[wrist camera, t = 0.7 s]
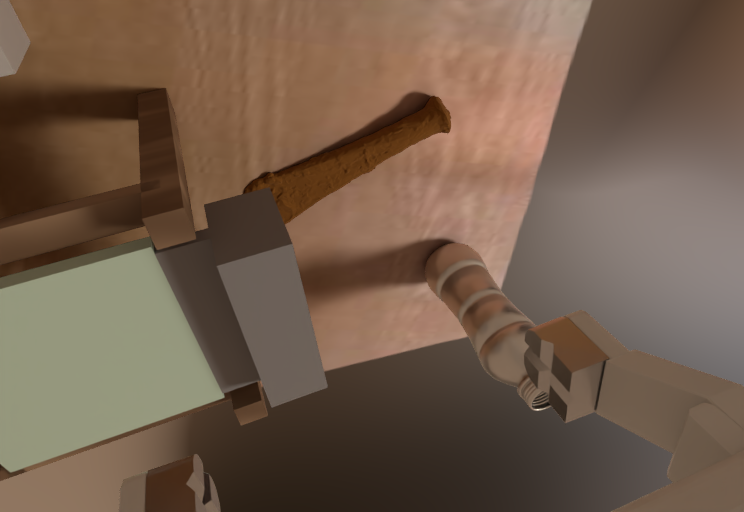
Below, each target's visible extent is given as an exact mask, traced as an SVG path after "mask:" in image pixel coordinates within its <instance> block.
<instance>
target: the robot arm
mask: <svg viewBox="0 0 744 512" xmlns="http://www.w3.org/2000/svg"><path fill="white" fill-rule="evenodd" d="M525 342H526V343H527V345H528V346H529V347H528V349H527V350H526V351H525V353H524V365H525V368H526V371H527V374H528V376H529V378H530V379H531V381H532V382H533V384H534V385H535V386H536V388H537V389H539V390H541V391H544V392H546V393H548V394H549V401H548V403H549V404H550V405H551V406H552V407H553V409H554V410H555V411H556V412H557V413H558V414H559V416H560V417H561V418H562V420H563V421H564V422H565V423H567V422H570V421H572V420H575V419H577V418H580V417H583V416H585V415H588V414H590V413H593V412H596V413H597V414H598V415H600V416H602V417H604V418H606V419H608V420H610V421H612V422H614V423H616V424H618V425H619V426H621V427H623V428H625V429H627V430H629V431H631V432H633V433H635V434H637V435H639V436H640V437H642V438H644V439H646V440H648V441H650V442H652V443H654V444H656V445H658V446H659V447H661V448H663V449H665V450H667V451H669V452H671V453H673V456H672V459H671V462H670V465H669V467H668V472H667V477H668V478H669V479H670V480H671V481H672V482H673V483H671V484H669V485H667V486H665V487H663V488H661V489H659V490H656V491H654V492H652V493H650V494H648V495H646V496H643V497H641V498H639V499H637V500H635V501H633V502H631V503H628V504H626V505H625V506H622V507H620V508H618V509H616V510H614V511H611V512H744V387H743V386H742V385H740V384H737V383H734V382H731V381H728V380H725V379H722V378H719V377H716V376H713V375H710V374H707V373H704V372H701V371H698V370H695V369H692V368H689V367H686V366H683V365H680V364H677V363H674V362H671V361H668V360H665V359H662V358H659V357H656V356H653V355H650V354H647V353H644V352H641V351H638V350H632V351H629V350H627V348H626V347H624V346H623V345H622V344H621V343H620V342H619V341H618V340H617V339H615V338H614V337H613V336H612V335H611V334H610V333H609V332H608V331H607V330H606V329H604V328H603V327H602V326H601V325H600V324H599V323H598V322H597V321H595V320H594V319H593V318H592V317H591V316H590V315H589V314H588V313H587V312H585V311H583V310H579V311H576V312H574V313H571V314H568V315H566V316H564V317H559V318H556V319H554V320H551V321H549V322H546V323H544V324H541V325H538V326H536V327H533V328H531V329H528V330H527V332H526V333H525ZM119 512H220V504H219V500H218V495H217V491H216V488H215V485H214V482H213V480H212V478H211V476H210V475H209V474H207V473H204V472H203V464H202V461H201V460H200V458H199V457H198V455H197V454H195V455H192V456H189V457H186V458H184V459H181V460H178V461H175V462H172V463H169V464H166V465H163V466H160V467H157V468H154V469H151V470H149V471H146V472H143V473H141V474H138V475H135V476H132V477H129V478H127V479H124V480H123V483H122V486H121V488H120V501H119Z"/></svg>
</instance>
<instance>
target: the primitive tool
mask: <svg viewBox="0 0 744 512" xmlns="http://www.w3.org/2000/svg"><path fill="white" fill-rule="evenodd" d="M450 119H451V116H450V112H449V111H448V110H447V109H446V107H445V106H444V105H443V103H442V101H441V99H440V98H439V97H435V96H432V97H431V98H430V99H429V101H428V102H427V104H426V105H425V107H424V108H423V109H422V110H419V111H418V112H416V113H414V114H412V115H410V116H407V117H404V118H403V119H401V120H400V121H398V122H396V123H394V124H392V125H390V126H386V127H384V128H382V129H381V130H379V131H377V132H375V133H373V134H371V135H369V136H366V137H363V138H360V139H358V140H356V141H354V142H352V143H349V144H347V145H345V146H343V147H340V148H338V149H336V150H333V151H331V152H328V153H323V154H321V155H319V156H317V157H312V158H310V160H309V161H306V162H303V163H302V164H299V165H296V166H293V167H291V168H289V169H286V170H283V171H280V172H278V173H274V174H273V173H268V174H267V175H266V176H265V177H263V178H258V179H255V180H254V181H253V182H252V184H250V185H248V186H247V187H246V189H245V192H244V193H245V194H246V193H250V192H253V191H257V190H261V189H264V188H268V187H270V190H271V192H272V195H273V197H274V200H275V202H276V205H277V207H278V209H279V212H280V214H281V217H282V219H283V222H284V224H286V223H288V222H290V221H291V220H292V219H294V218H295V217H297V216H298V215H300V214H301V213H302V212H304V211H305V210H307V209H308V208H309V207H311V206H312V205H314V204H315V203H316V202H318V201H320V200H321V199H322V198H324V197H326V196H327V195H329V194H330V193H333V192H335V191H337V190H338V189H340V188H342V187H343V186H345V185H346V184H348V183H349V182H351V180H353V179H356V178H357V177H359V176H360V175H362V174H365V173H368V172H370V171H372V170H373V169H375V167H376V166H377V165H378V164H380V163H382V162H383V161H384V160H386V159H388V158H390V157H391V156H394V155H396V154H398V153H400V152H402V151H403V150H405V149H406V148H408V147H409V146H411V145H414V144H416V143H418V142H419V141H421V140H423V139H426V138H428V137H430V136H431V135H434V134H437V133H441V132H442V133H449V132H450V129H451V121H450Z"/></svg>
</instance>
